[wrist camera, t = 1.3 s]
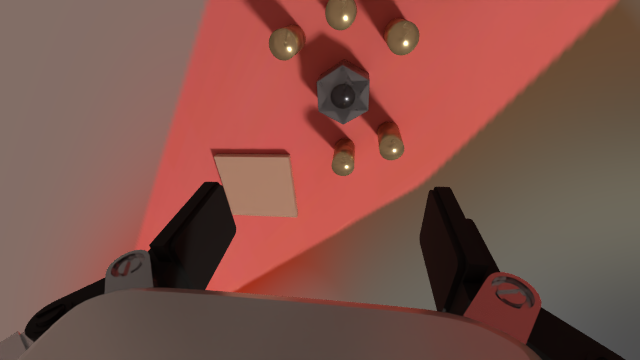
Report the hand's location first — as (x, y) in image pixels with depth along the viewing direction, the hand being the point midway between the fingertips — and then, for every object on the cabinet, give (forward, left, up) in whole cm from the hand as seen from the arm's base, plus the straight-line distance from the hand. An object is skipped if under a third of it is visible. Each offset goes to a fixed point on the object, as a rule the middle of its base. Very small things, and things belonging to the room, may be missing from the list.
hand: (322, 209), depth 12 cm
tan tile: (+13, -12, -20) cm, 26 cm away
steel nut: (0, 0, -20) cm, 20 cm away
